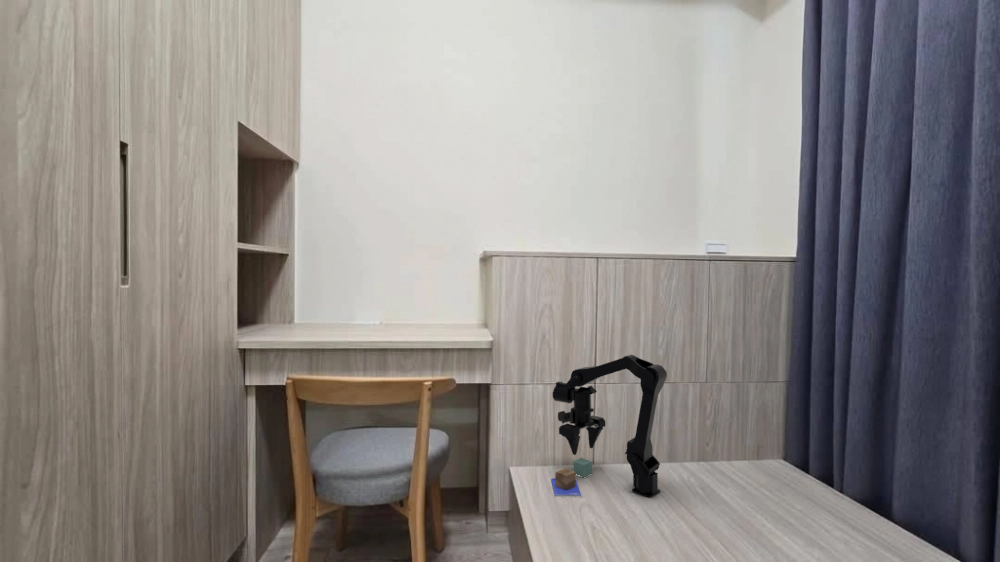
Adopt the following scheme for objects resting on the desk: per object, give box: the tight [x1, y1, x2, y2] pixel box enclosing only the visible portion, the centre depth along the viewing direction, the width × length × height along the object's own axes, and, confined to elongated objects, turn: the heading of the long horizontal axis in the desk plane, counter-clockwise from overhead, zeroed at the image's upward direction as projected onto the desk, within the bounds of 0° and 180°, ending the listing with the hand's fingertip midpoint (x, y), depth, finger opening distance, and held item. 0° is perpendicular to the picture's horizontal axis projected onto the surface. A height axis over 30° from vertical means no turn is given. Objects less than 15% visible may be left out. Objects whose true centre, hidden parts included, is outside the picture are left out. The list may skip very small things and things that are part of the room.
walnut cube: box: [554, 467, 577, 490], centre depth 152 cm, size 4×4×4 cm
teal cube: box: [572, 457, 593, 478], centre depth 163 cm, size 4×4×4 cm
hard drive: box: [550, 477, 583, 499], centre depth 152 cm, size 2×8×12 cm
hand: (582, 451), depth 163 cm, fingers open, 9 cm apart
